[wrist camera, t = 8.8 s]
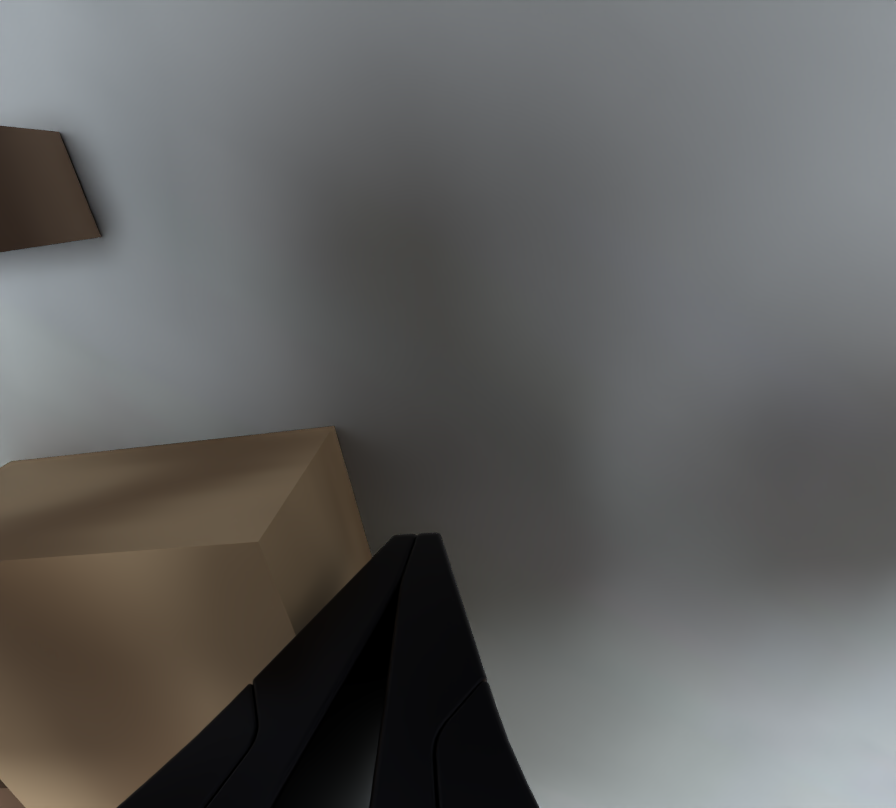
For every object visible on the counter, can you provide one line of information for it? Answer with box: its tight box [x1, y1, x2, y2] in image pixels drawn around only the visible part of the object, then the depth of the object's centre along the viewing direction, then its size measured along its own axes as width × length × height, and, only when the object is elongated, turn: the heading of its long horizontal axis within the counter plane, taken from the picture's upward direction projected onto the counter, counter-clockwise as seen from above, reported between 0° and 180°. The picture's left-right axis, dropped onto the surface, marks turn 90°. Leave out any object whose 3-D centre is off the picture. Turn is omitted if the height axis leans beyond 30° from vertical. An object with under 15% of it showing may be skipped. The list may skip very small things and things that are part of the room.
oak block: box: [0, 426, 372, 808], centre depth 10 cm, size 7×7×4 cm
